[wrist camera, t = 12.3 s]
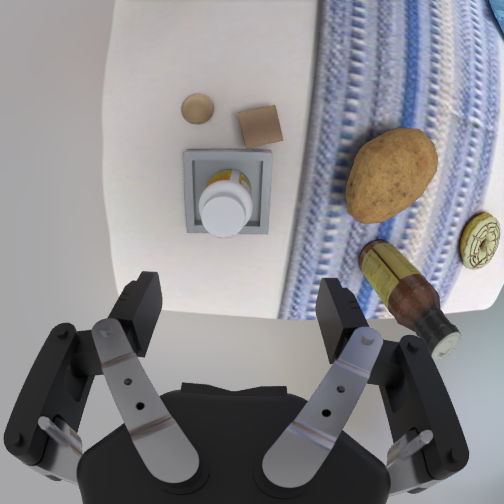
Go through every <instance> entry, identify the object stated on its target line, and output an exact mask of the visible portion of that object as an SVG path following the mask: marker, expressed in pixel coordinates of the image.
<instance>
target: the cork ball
mask: <svg viewBox="0 0 504 504" xmlns="http://www.w3.org/2000/svg"><path fill="white" fill-rule="evenodd" d="M213 109H214V107H213V103H212V101H211V99H210V98H209V97H207V96H206V95H203V94H193V95H191V96H189V97H188V98H186V99H185V101H184V102H183V104H182V109H181V110H182V115H183V117H184V118H185V119H186V120H187V121H188V122H190V123H193V124H201V123H204V122H206V121H207V120H208V119H209V118H210V117H211V116H212V113H213Z"/></svg>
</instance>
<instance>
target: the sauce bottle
mask: <svg viewBox="0 0 504 504" xmlns="http://www.w3.org/2000/svg"><path fill="white" fill-rule="evenodd" d="M359 264H360V268H361V270H362V272H363V274H364V276H365V277H366V279H367V280H368V282H369V283H370V284H371V286H372V287H373V289H374V290H375V291H376V293H377V294H378V296H379V297H380V299H381V300H382V302H383V303H384V304H385V306H386V307H387V309H388V310H389V312H390V313H391V314H392V315H393V316H394V317H395V319H396V320H397V322H398V324H400V325H403V326H405V327H407V328H409V329H410V330H412V331H414V332H416V334H417V336H419V337H420V339H422V340H423V341H424V343H425V344H426V346H427V348H428V350H429V352H430V354H431V356H432V358H433V360H440V359H442V358H444V357H446V356H448V355H449V354H450V353H451V352H453V350H454V349H455V348H456V347H457V345H458V343H459V341H460V339H461V333H460V332H459V330H458V329H457V327H456V326H455V325H453V324H451V323H450V322H449V320H448V319H447V318H446V317H445V315H444V314H443V312H442V311H441V310H440V297H439V295H438V293H437V291H436V290H435V289H434V288H433V286H432V285H431V284H430V283H429V282H428V281H427V280H426V278H425V277H424V276H423V275H422V274H421V273H420V272H419V271H418V270H417V269H416V268H415V267H414V266H413V265H412V264H411V263H410V262H409V261H408V260H407V259H406V258H405V257H404V256H403V255H402V254H401V253H400V252H399V251H398V250H397V249H396V248H395V247H394V246H393V245H391V244H389V243H388V242H385V241H384V240H377V241H374V242H372V243H370V244H368V245H367V246H366V247H365V248H364V249H363V251H362V253H361V255H360V258H359Z"/></svg>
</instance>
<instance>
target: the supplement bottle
mask: <svg viewBox="0 0 504 504" xmlns="http://www.w3.org/2000/svg"><path fill="white" fill-rule="evenodd" d="M252 209H253V202H252V188H251V184H250V181H249V179H248V178H247V177H246V175H245V174H243V173H242V172H240V171H238V170H236V169H223V170H220V171H218V172H217V173H215V174H214V175H213V176H212V177H211V179H210V180H209V182H208V184H207V185H206V187H205V189H204V191H203V192H202V194H201V197H200V200H199V213H200V216H201V220H202V224H203V226H204V227H205V229H206V230H207V231H208V232H209V233H210V234H212V235H214V236H216V237H221V238H227V237H231V236H234V235H236V234H237V233H238V232H239V231H240V230H241V229H242V228H243V227H244V226H245V225H246V224H247V222H248V221H249V219H250V217H251V214H252Z"/></svg>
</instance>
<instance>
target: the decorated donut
mask: <svg viewBox="0 0 504 504" xmlns="http://www.w3.org/2000/svg"><path fill="white" fill-rule="evenodd" d="M499 239H500V224H499V222H498V221H497V219H496V218H495V217H493V216H492V215H490V214H488V213H485V214H481V215H477V216H476V217H475V218H473V219H472V220H471V221H470V222H469V223H468V225H467V226H466V227H465V229H464V232H463V235H462V238H461V242H460V252H461V256H462V259H463V265H464V266H465V267H466V268H469V269H473V270H475V269H479V268H482V267H483V266H485V265H486V264H488V263H489V262H490V260H491V259H492V257H493V255H494V253H495V251H496V249H497V247H498V244H499Z"/></svg>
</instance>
